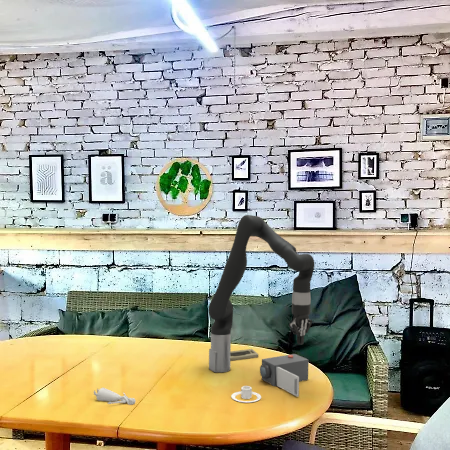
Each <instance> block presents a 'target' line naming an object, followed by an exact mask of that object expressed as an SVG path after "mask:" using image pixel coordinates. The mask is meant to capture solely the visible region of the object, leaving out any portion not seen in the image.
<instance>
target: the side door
mask: <svg viewBox="0 0 450 450" xmlns="http://www.w3.org/2000/svg"><path fill="white" fill-rule="evenodd" d="M275 387H278V388H280V389H283V390H284V391H285V392H288V393H290V394H291V395H293V396H295V397H299V396H300V382H299V376H297V375H294V374H292V373H290V372H288V371H286V370H284V369H282V368H280V367H278V366H276V386H275Z"/></svg>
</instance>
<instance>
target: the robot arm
mask: <svg viewBox="0 0 450 450" xmlns="http://www.w3.org/2000/svg"><path fill="white" fill-rule="evenodd" d="M251 237H257V238H259V239H261V240H263V241H265V242H266V243H267V244H268V246H269V247H270V249H271V251H272V252H274V253H275V254H276V255H277V256H279V257H280V258H281V259H282V260H284V262H285V263H286V264H287V265H288V267H289V268H290V269H291V270H292V271H295V272H298V275H297V276H296V277H294V278H293V281H292V297H291V299H292V300H291V314H292V315H293V317H292V322H290V323H288V327H289V328H290V330H291V332H292V333H293V335H296V344H297V345H300V346H301V345H304V343H305V342H304V341H305V335H306V334H308V333H309V330H310V328H311V326H312V325H313V324H312V323H313V320H312V319H310V314H311V301H312V300H311V281H312V278H313V274H314V272H315V271H314V269H315V260H314V257H313V256H312V255H311V254H309V253H300V254H299V253H297V247H296V246H294V245H293V244H292V243H290V242H289V241H288V240H286V239H285V238H284V237H282V236H281V235H279V234H278V233H277V232H276V231H275V230H274V229H273V228H272V227H271V226H270V225H269V224H268V223H267V222H266V221H265V220H264V219H263V218H262V217H260V216H258V215H257V216H256V215H252V214H245V215H243V216H242V217H241V218H240V220H239V222H238V225H237V228H236V232H235V236H234V240H233V243H232V246H231V249H230V252H229V255H228V258H227V260H226V263H225V266H224V267H223V271H222V274H221V277H220V279H219V283H218V286H217V288H216V291H215V292H214V295H213V296H212V299H211V301H210V303H209V305H208V310H207V312H208V315H209V317H210V319H212V320H214V322H213V324H212V325H211V328H210V348H209V349H208V350H209V351H208V354H209V355H208V369H209V371H212V372H214V373H226V372H229V371H231V361H230V351H231V350H232V349H231V347H232V346H231V345H232V344H231V341H232V339H231V338H232V337H231V336H232V335H231V334H232V333H231V331H232V328H233V323H234V322H233V320H234V319H233V318H234V306H233V303H232V301H231V300H230V298H231V296H232V294H233V292H234V291H235V290H236V288H237V287H238V285H239V284H240V283H241V281H242V278H243V276H244V275H245V271H246V269H247V266H248V259H247V246H248V242H249V240H250V239H251Z"/></svg>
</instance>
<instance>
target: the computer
mask: <svg viewBox="0 0 450 450" xmlns="http://www.w3.org/2000/svg"><path fill="white" fill-rule="evenodd" d="M256 358H259V353H258V352H256V350H254V349H253V348H248V349H241V350H232V351H230V362H232V361H243V360H249V359H256Z"/></svg>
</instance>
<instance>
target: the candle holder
mask: <svg viewBox="0 0 450 450" xmlns="http://www.w3.org/2000/svg"><path fill="white" fill-rule="evenodd" d="M252 388H253V387H251V386H249V385H243V386H241V389H240V391H235V392H234V393H232V394H231V399H232V400H234V401H236V402H239V403H255V402H258V401H259V400H261V399H262V396H261V394H260V393H257V392H255V391H253V389H252ZM239 395H240V397H241V399H244V400H241V399H240V400H239V399H237V398H236V397H237V396H239ZM255 395H256V399H255V400H250V398H251V399H252V397H253V396H255ZM246 400H248V401H246Z"/></svg>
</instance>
